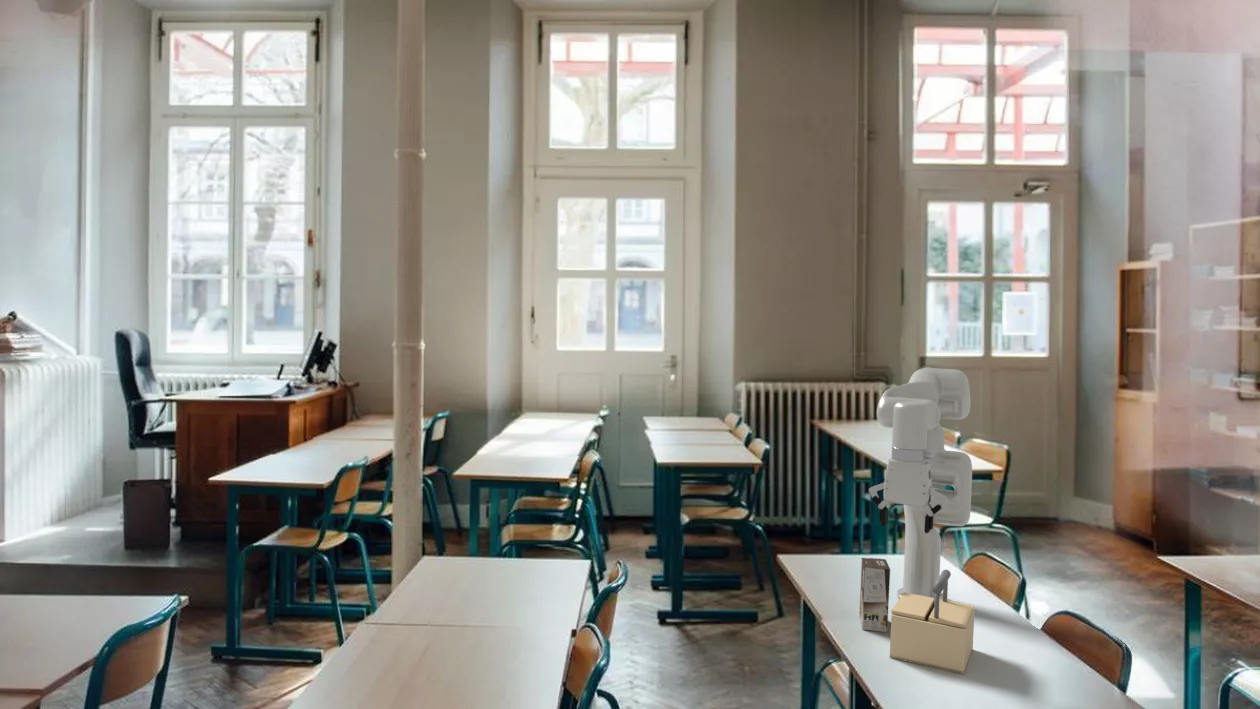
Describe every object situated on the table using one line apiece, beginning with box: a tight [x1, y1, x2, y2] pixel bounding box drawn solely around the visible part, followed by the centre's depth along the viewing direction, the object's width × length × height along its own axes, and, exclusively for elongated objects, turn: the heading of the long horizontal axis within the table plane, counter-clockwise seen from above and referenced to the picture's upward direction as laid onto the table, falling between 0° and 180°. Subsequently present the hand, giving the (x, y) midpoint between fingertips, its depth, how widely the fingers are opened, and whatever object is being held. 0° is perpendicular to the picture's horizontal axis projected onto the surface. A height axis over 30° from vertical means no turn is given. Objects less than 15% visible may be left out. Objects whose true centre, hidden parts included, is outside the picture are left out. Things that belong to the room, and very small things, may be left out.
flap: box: [929, 569, 975, 629], centre depth 184 cm, size 8×14×8 cm, turn 150°
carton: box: [889, 592, 976, 675], centre depth 187 cm, size 16×16×11 cm
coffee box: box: [858, 557, 891, 633], centre depth 204 cm, size 9×6×16 cm
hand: (905, 528), depth 184 cm, fingers open, 9 cm apart
